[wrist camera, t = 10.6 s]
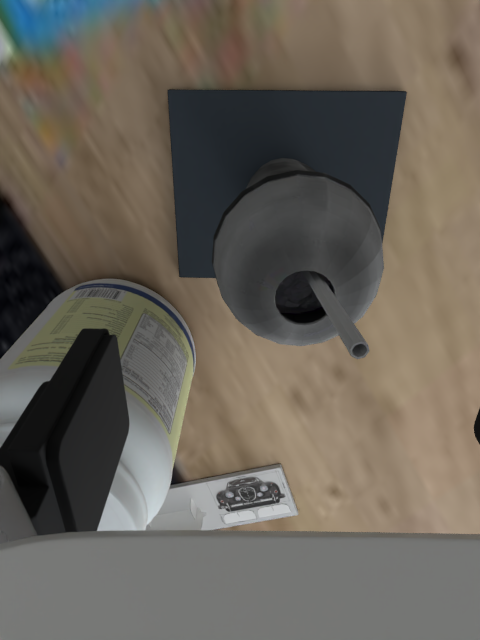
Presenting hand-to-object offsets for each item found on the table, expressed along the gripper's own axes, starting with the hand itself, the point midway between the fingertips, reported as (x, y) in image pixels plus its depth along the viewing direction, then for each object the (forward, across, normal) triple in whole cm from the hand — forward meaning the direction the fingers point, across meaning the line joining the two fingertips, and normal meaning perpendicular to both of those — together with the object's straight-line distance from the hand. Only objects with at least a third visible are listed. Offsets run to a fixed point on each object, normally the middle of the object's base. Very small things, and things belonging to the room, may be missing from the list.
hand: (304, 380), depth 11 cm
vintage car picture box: (+21, +4, +31) cm, 37 cm away
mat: (+21, -1, +1) cm, 21 cm away
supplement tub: (+21, +11, +13) cm, 27 cm away
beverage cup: (+21, -1, +1) cm, 21 cm away
